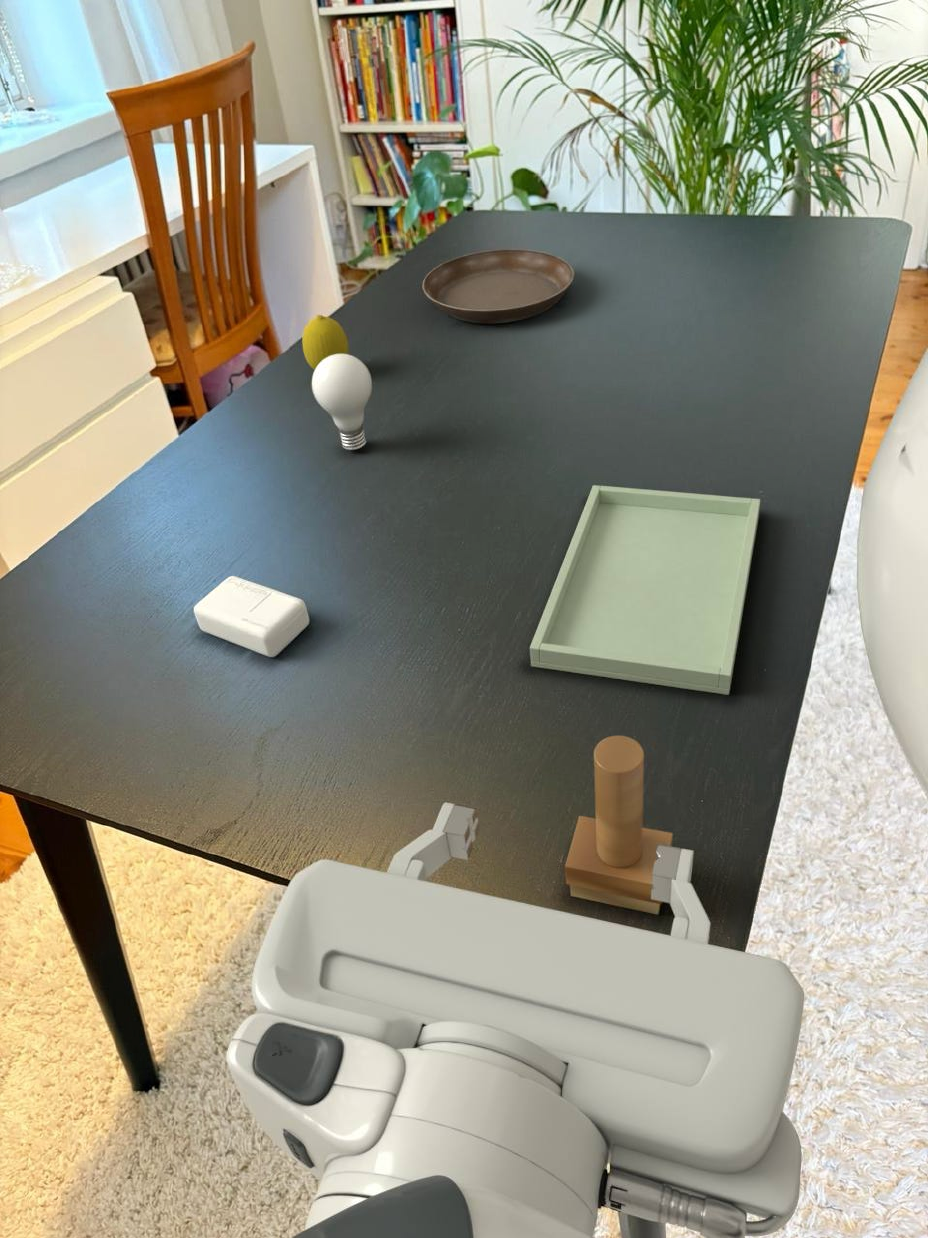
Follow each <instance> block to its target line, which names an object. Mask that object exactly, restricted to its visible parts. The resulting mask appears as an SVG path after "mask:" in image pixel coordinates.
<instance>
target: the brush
mask: <svg viewBox="0 0 928 1238" xmlns="http://www.w3.org/2000/svg"><path fill="white" fill-rule="evenodd" d="M593 775H594V776H593V777H594V802H595V803H594V807H595V810H594V811H595V817H589V816H583V815H579V816H578V820H577V822H576V825H575V830H574V833H573V836H572V839H571V843H570V847H569V851H568V854H567V858H566V861H565V865H564V869H565V872H564V873H565V884H566V885H567V886H569V887H570V889H569V890H570V896H571V897H573V898H577V899H578V898H579V899H583V900H586V901H587V900H589V901H593V902H597V903H602V904H607V905H611V906H616V907H620V908H625V909H631V910H634V911H639V912H643V913H649V914H653V915H659V914H660V908H661V905H662V904H663V902H661V901H657V900H652V899H651V888H652V884H651V883H652V872H653V867H654V862H655V861H656V852H657V847H658V844H661V845H667V846H673V839H674V833H673V832H669V831H664V830H658V829H652V828H647V827H644V779H645V778H644V777H645V751H644V748H643V747H642V746H641V744H640V743H639V742H638V741H637V740H636V739H634V738H631V737H630V736H625V735H612V736H607V737H605V738H604V739H602V740H600V741H599V742H598V743H597V744H596V746H595V747H594V750H593Z"/></svg>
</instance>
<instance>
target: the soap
mask: <svg viewBox="0 0 928 1238" xmlns="http://www.w3.org/2000/svg"><path fill="white" fill-rule="evenodd" d="M193 613H194V616H195V620H196V621H197V624H198V627H199V629H200V631H202V632H204V633H207V634H209V635H211V636H215V637H216V638H220V639H222V640H224V641H227V642H230V643H232V644H235V645H237V646H240V647H243V648H245V649H247V650H250V651H252V652H255V653H257V654H261V655H263V656H266V657H268V658H275V657H276V656H277V655H279V654H280V653H281V652H282V651H283V650H284V649H285V648H286V647H287V646H288V645H289V644H290V643H291V642H292V641H293V640H294V639H295V638H297V637H298V636H299V635H300V634H301V633H302V632H303V631H304V630H305V629H306V628H307V627H308V625H309V624H310V616H309V613H308V609H307V606H306V603H305V601H304V600H303V599H301V598H299V597H296V596H293V595H290V594H287V593H284V592H281V591H279V590H276V589H273V588H270V587H268V586H265V585H262V584H258V583H256V582H253V581H250V580H247V579H244V578H241V577H238V576H235V575H231V576H228V577H227V578H225V579H224V580H223V581H222V582H221V583H220V584H219V585H217V586H216V587H215V588H214V589H213V590H212V591H210V592H209V593H208V594H206V596H204V597H203V598H202V599H200V600H199V602H197V603H196V604H195V606H194V607H193Z"/></svg>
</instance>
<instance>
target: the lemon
mask: <svg viewBox="0 0 928 1238" xmlns="http://www.w3.org/2000/svg"><path fill="white" fill-rule="evenodd" d="M301 342H302V352H303V354H304V358H305V360H306V362H307V364H308V365H309V366H310V368H311V369H313V370H315V369H316V367H317V365H318V364H319V363H320V362H321V361H322V360H323V359H325V358H326V357H328V356H330V355H334V354H349V341H348V338H347V335H346V333H345V331H344V329H343V327H342V326H341V324H340V323H339V322H338V321H337V320H335V319H334V318H332V317H329V316H323V315H322V314H317V315H316V316H315V317H314V318H312V319H310V320H309V322H308V323H307V324H306V325H305V326H304V329H303V332H302V340H301Z"/></svg>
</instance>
